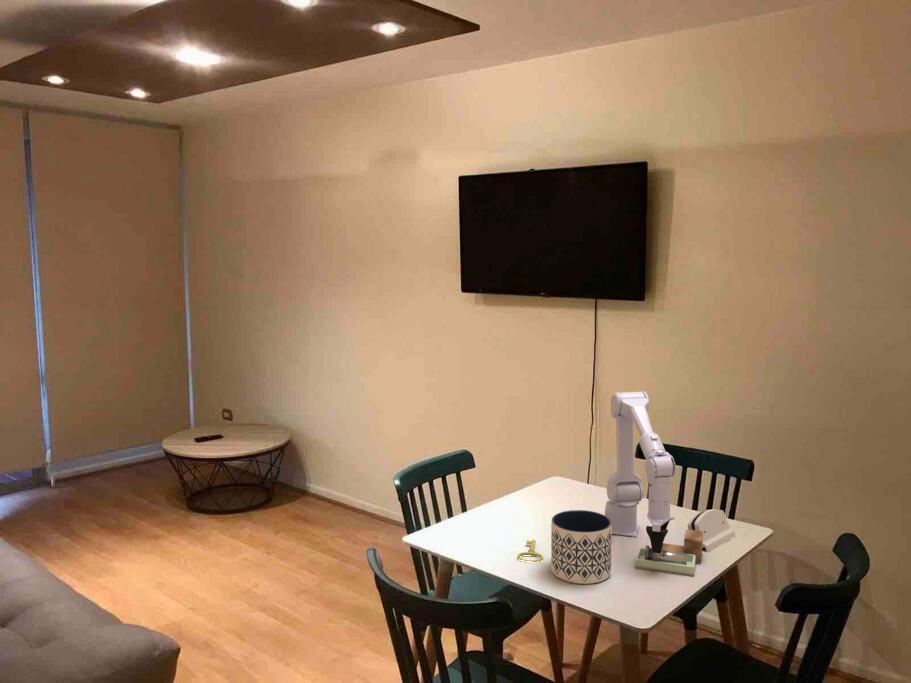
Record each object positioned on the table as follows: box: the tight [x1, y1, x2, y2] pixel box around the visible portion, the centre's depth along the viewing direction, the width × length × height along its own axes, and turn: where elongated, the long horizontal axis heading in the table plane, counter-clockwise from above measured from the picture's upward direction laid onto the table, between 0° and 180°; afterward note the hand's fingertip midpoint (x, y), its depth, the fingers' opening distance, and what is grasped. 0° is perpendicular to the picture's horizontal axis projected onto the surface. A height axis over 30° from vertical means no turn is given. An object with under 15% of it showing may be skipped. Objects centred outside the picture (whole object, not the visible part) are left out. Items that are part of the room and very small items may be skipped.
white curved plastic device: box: [687, 508, 736, 553], centre depth 214 cm, size 17×5×10 cm, turn 132°
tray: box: [634, 547, 697, 577], centre depth 198 cm, size 15×8×2 cm, turn 69°
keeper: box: [662, 529, 703, 565], centre depth 204 cm, size 11×7×7 cm, turn 69°
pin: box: [645, 545, 687, 565], centre depth 197 cm, size 11×5×5 cm, turn 70°
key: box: [516, 539, 544, 562], centre depth 207 cm, size 7×12×2 cm, turn 6°
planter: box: [550, 509, 613, 585], centre depth 195 cm, size 16×16×14 cm
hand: (658, 546), depth 198 cm, fingers open, 7 cm apart
